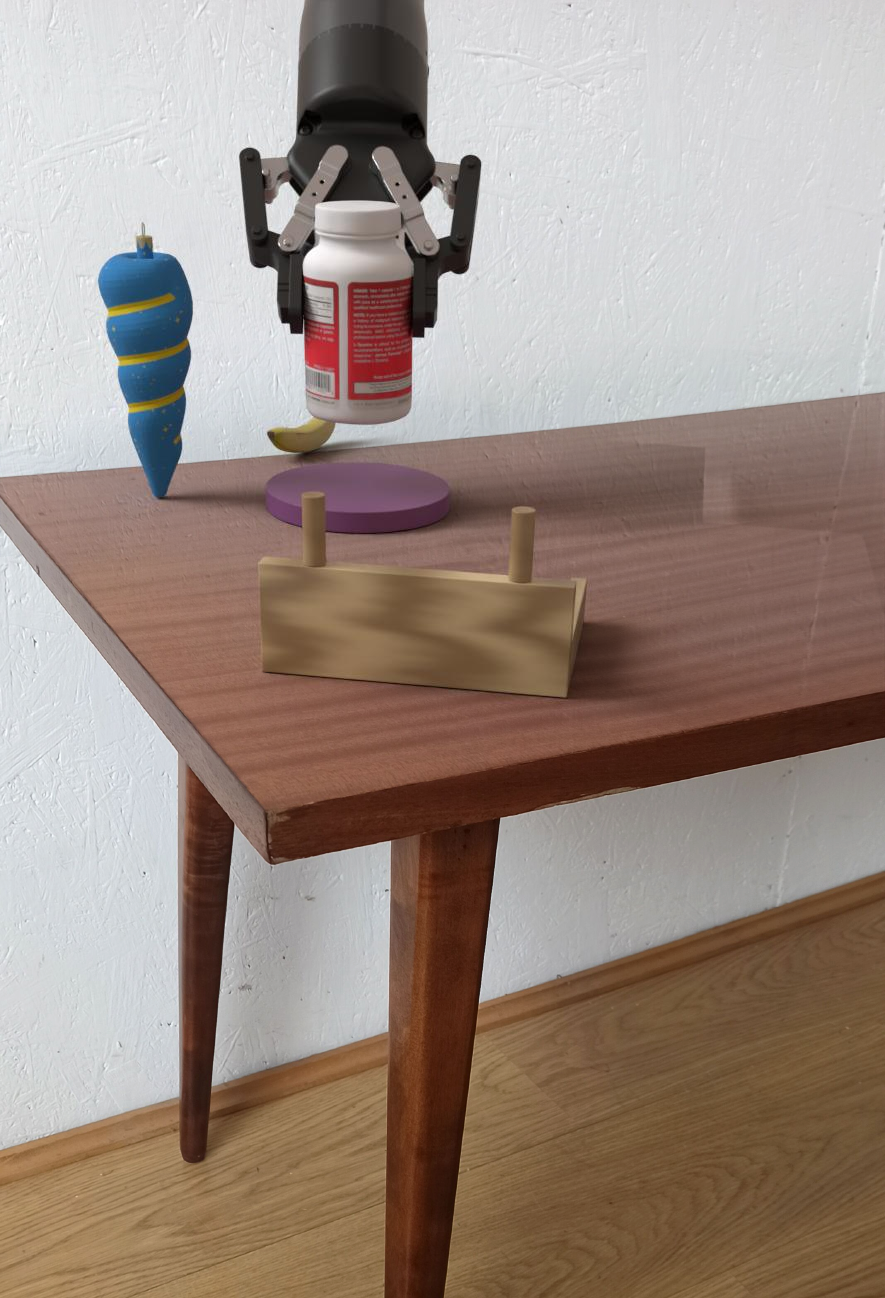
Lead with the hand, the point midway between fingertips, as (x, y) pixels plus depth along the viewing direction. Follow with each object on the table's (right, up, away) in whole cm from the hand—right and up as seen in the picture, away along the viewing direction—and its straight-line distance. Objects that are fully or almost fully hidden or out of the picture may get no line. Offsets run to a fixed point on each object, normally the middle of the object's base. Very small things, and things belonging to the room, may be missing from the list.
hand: (357, 326), depth 85 cm
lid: (0, -8, +7) cm, 11 cm away
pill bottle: (0, -4, +4) cm, 6 cm away
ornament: (-12, -7, +8) cm, 16 cm away
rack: (+4, -20, -13) cm, 24 cm away
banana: (-4, -1, +18) cm, 18 cm away
